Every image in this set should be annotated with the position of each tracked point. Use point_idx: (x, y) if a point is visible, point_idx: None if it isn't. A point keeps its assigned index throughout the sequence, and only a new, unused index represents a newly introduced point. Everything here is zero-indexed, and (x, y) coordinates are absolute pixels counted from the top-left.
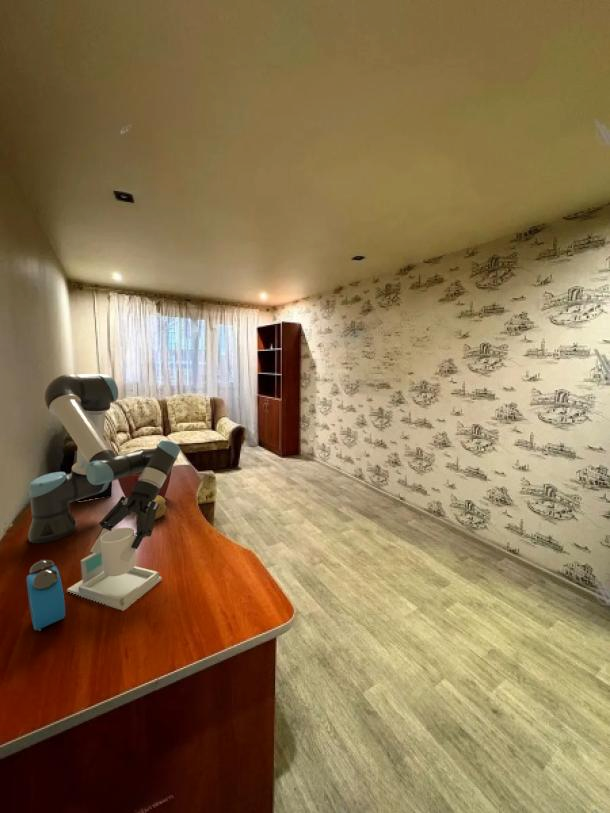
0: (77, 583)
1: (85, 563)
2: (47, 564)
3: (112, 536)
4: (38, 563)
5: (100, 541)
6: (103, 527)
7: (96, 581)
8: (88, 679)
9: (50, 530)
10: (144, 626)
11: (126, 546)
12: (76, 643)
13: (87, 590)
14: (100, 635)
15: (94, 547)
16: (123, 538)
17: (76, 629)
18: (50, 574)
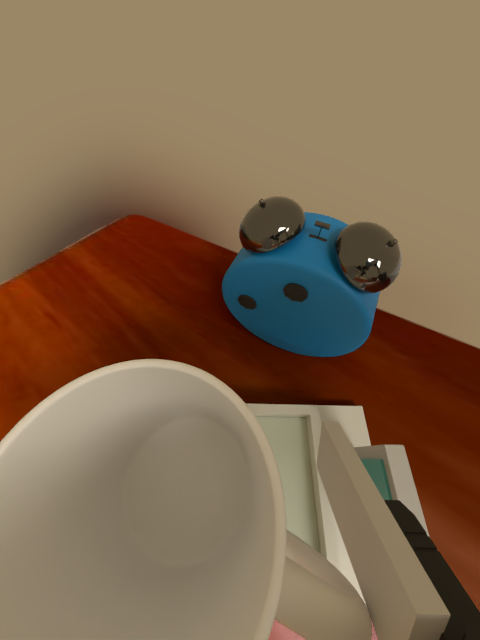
0: (364, 437)
1: (377, 454)
2: (342, 245)
3: (262, 557)
4: (367, 224)
5: (346, 495)
6: (476, 636)
7: (312, 464)
8: (91, 272)
9: None
10: (47, 379)
11: (40, 470)
12: (170, 307)
13: (278, 405)
14: (137, 332)
15: (330, 439)
16: (202, 632)
17: (202, 329)
18: (254, 214)
